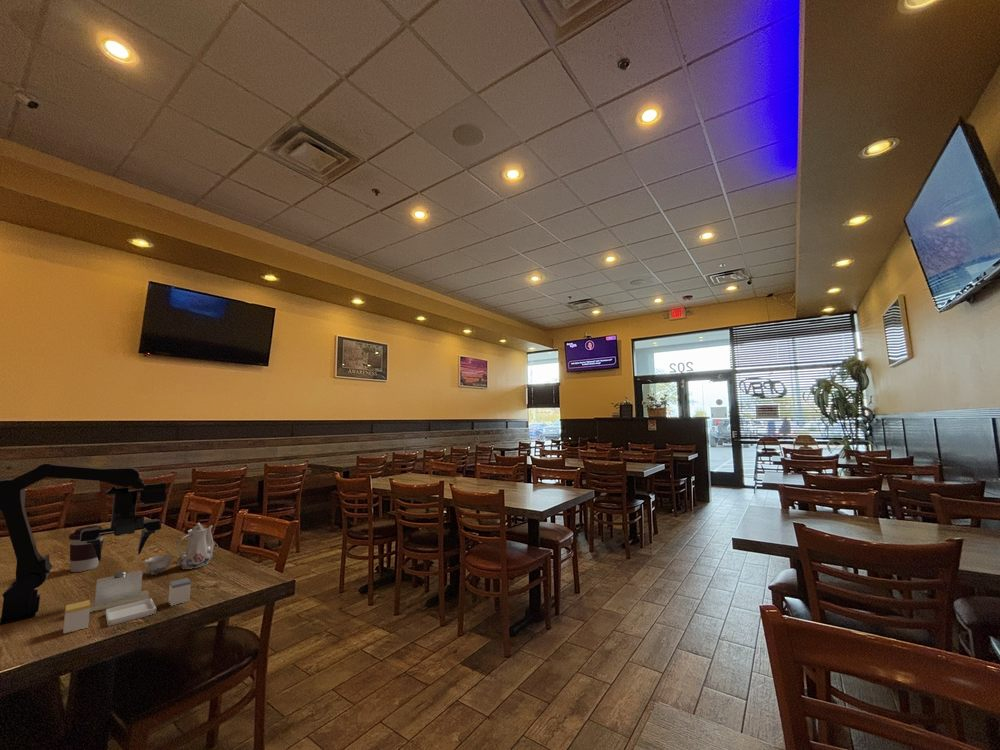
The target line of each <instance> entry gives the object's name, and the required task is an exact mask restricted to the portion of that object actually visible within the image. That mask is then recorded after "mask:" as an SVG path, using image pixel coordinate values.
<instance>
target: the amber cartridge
mask: <svg viewBox="0 0 1000 750" xmlns="http://www.w3.org/2000/svg"><path fill="white" fill-rule="evenodd" d="M90 603H91V600H90V599H87V600H82V601H80V602H75V603H71V604H66V605H65V612H64V619H63V626H62V627H63V630H62V634H63V633H67V632H70V631H75V630H79V629H84V628H88V629H89V619H90V614H91V613H90ZM84 630H85V629H84Z"/></svg>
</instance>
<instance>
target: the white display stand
mask: <svg viewBox="0 0 1000 750" xmlns="http://www.w3.org/2000/svg"><path fill="white" fill-rule="evenodd" d="M143 575H144V573H143V571H142V570H138V571H132V572H128V571H126V570H123V571H121V570H120V571H118V572H115V573H114V575H112V576H108V577H107V576H106V577H103V578H97V579H96V586H95V594H94V595H95V597H94V601H92V602H90V612H91V613H93V611H95V612H99V611H102V610H106V609H109V608H113V607H117V606H121V605H125V604H129V603H133V602H137V601H141V600H145V599H150V592H149V590H148V589H144V590H142V584H143ZM98 610H99V611H98Z"/></svg>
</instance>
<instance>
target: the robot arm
mask: <svg viewBox="0 0 1000 750" xmlns="http://www.w3.org/2000/svg"><path fill="white" fill-rule="evenodd" d="M45 478H52V479H53V478H55V479H69V480H71V479H72V480H83V481H85V480H86V481H97V482H103V483H106V484H111V485H113V486H111V488H110V489H109V490H107V491H106V492H105V494H106V495H109V496H110V495H113V498H112V499H113V500H112V501H113V502H112V510H111V519H110V520H111V521H110V527H108V528H102V529H99V527H93V528H86V529H83V530H82V531H81V535H80V540H81V541H86V543H91V544H92V545H93V547H94V549H95V551H96V554H97V557H98V560H99V562H102V561H101V559H102V551H101V548H100V538H99V536H101V535H104V536H107V535H114V536H116V537H119V536H123V535H132V534H134V533H135V532H136V531H139V530H141V533H140V537H139V543H138V548H137V555H140V554H141V552H142V550H143V548H144V546H145V544H146V542H147V540H148V539H149V538H150V536H151V535H152V534H155V533H156V531H159V530H161V529H162V521H161V520H160V519H158V518H154V519H146V520H145V516H144V515H138V516H136V514H137V513H136V512H137V504H138V494H139V493H140V494H139V503H142V504H143V506H147V505H156V504H164V503H166V501H167V482H164V481H163V482H157V483H147V484H146V483H145V481H143V480H142V478H140V471H139V470H138V469H137V468H135V467H133V466H119V467H106V468H105V467H93V466H81V465H80V466H79V465H67V464H56V463H52V462H46V463H45V462H44V463H43V464H40V465H38V466H37V467H36V468H33V469H31V470H29V471H28V472H25V473H23V474H21V475H19V476H17V477H11V478H10V477H9V478H4V479H2V480H0V512H1V513H2V515H3V518H4V522H5V525H6V528H7V532H8V535H9V539H10V542H11V544H12V545H11V546H12V548H13V549H12V550H13V551H14V552H13V553H14V556H15V559H16V566H15V581H13V582H12V583H11V584H10V585H9V586H8V587H7V589H6V590H4V592H3V593H2V598H3V599H2V608H1V617H0V625H3V624H8V623H11V622H16V621H21V620H24V619H29V618H34V617H35V616H36V614H37V613H38V612H39V607H40V602H41V601H40V600H41V594H38V592H39V589H38V588H39V587H40V586H42V585H43V584H44V583H45V582H46V580H47V579H48V576H49V575H50V573H51V570H52V568H53V567H54V566H53V564H52V563H51V562H50V554H48V553H47V554H45V555H43V556H42V554H40V552H39V551H38V547H37V545H36V541H35V538H34V535H33V531H32V528H31V525H30V521H29V517H28V514H27V511H26V508H25V507H26V506H25V505H26V504H25V503H26V488H28V487H30V486H32V485H33V484H36V483H37V482H39V481H42V480H43V479H45ZM117 486H119V487H117ZM130 487H131V488H134V489H129V488H130Z"/></svg>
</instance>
